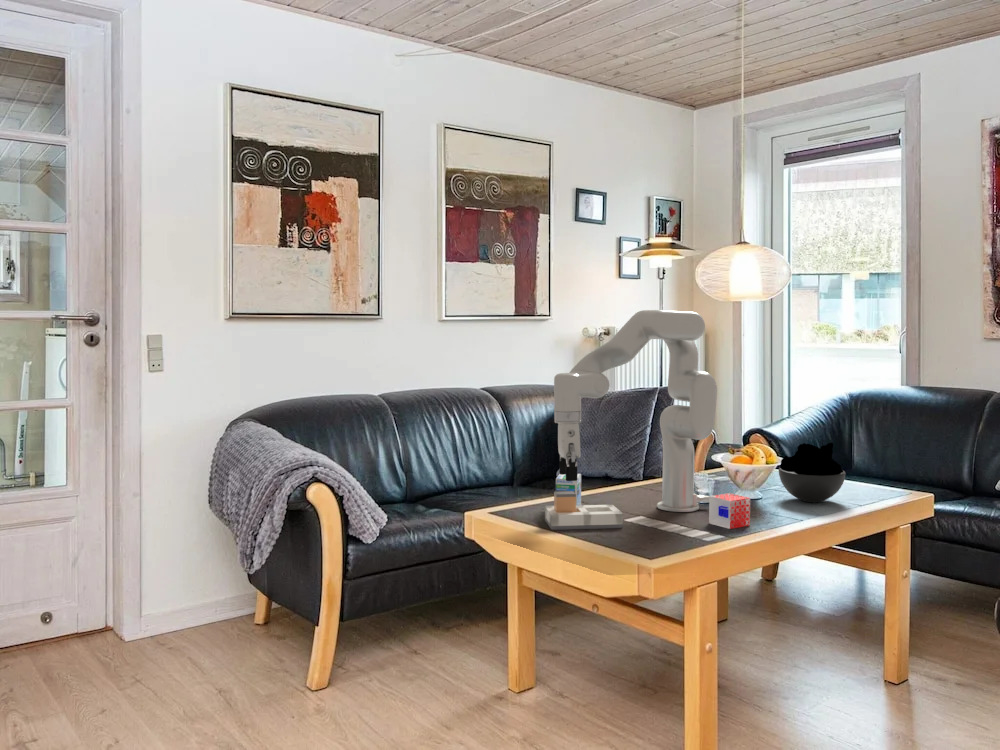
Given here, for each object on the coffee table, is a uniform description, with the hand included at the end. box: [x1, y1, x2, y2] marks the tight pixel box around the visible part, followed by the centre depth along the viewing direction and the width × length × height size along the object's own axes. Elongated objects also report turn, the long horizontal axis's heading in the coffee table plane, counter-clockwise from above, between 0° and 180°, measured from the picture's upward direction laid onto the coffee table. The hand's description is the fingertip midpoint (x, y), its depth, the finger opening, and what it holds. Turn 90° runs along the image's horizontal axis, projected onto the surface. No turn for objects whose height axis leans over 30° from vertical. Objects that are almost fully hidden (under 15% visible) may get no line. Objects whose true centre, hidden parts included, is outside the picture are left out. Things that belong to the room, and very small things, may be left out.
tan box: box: [553, 491, 576, 513], centre depth 246 cm, size 6×4×8 cm
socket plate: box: [544, 504, 624, 531], centre depth 247 cm, size 20×12×4 cm, turn 96°
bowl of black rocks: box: [778, 442, 846, 503], centre depth 276 cm, size 20×20×19 cm
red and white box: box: [708, 492, 751, 530], centre depth 246 cm, size 8×8×8 cm
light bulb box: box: [555, 473, 582, 505], centre depth 264 cm, size 11×7×11 cm, turn 168°
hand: (568, 477), depth 246 cm, fingers open, 9 cm apart
